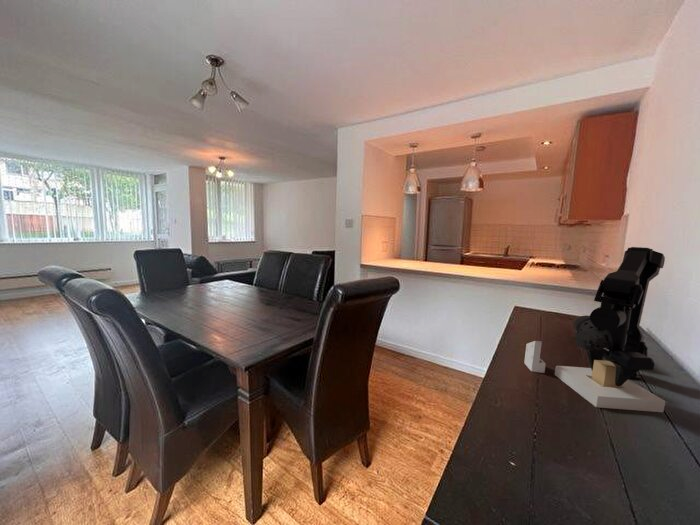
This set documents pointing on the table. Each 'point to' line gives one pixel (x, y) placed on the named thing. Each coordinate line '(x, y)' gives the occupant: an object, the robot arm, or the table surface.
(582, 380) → the socket plate
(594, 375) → the plug
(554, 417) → the table surface
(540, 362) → the white angled block
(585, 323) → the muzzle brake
